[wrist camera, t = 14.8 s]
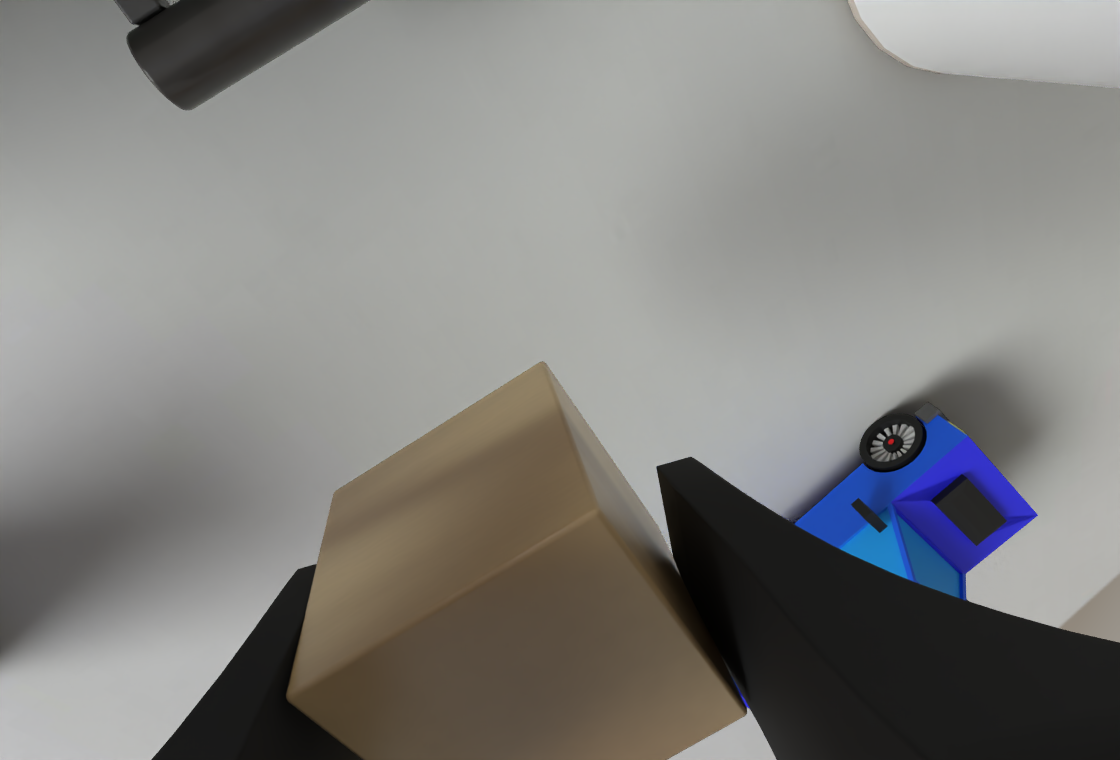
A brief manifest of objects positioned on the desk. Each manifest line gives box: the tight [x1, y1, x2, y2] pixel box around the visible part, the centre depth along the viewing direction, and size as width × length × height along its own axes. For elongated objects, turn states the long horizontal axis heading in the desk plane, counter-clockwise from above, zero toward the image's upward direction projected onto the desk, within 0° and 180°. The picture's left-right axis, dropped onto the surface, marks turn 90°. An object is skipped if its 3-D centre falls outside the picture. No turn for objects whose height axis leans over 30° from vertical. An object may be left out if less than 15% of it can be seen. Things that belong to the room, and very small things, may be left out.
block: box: [286, 361, 747, 760], centre depth 11 cm, size 4×4×4 cm
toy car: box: [729, 402, 1038, 709], centre depth 23 cm, size 7×12×5 cm, turn 137°
